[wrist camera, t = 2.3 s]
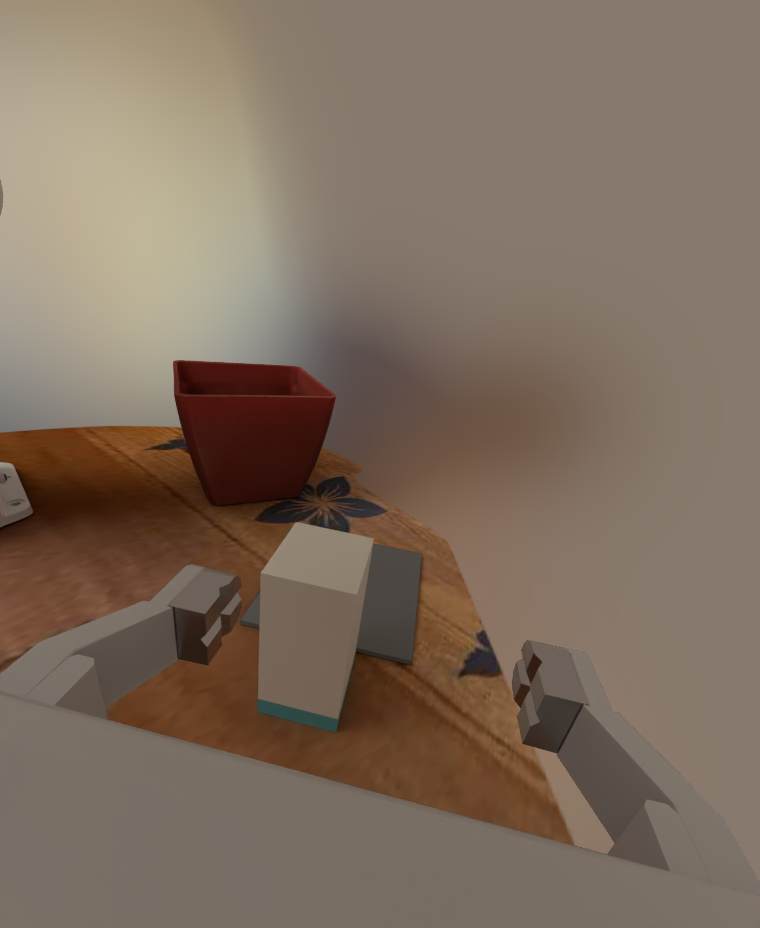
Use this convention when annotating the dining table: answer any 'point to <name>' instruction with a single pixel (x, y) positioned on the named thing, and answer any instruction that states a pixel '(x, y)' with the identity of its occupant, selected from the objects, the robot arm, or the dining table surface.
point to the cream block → (311, 623)
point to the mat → (381, 605)
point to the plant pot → (251, 427)
